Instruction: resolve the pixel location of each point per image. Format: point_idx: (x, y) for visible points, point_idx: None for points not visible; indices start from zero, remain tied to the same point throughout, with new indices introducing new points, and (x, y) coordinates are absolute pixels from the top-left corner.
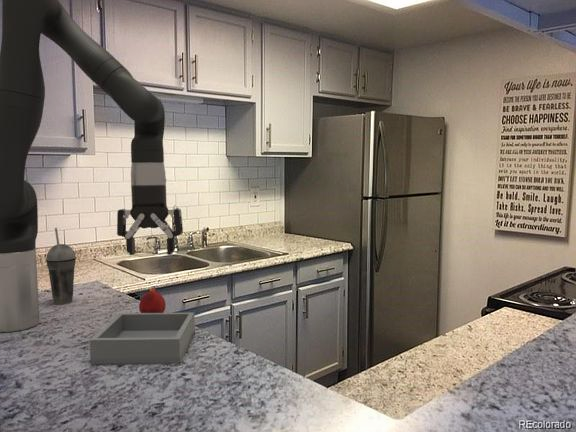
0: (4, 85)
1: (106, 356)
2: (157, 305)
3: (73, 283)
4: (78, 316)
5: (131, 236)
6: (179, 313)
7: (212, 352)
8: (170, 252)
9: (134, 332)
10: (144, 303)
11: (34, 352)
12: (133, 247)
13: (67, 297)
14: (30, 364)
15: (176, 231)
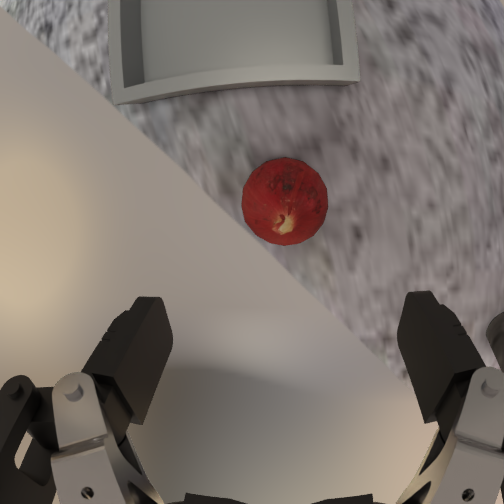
0: None
1: None
2: (256, 172)
3: (499, 359)
4: (475, 237)
5: (459, 403)
6: (151, 87)
7: (85, 10)
8: (137, 305)
9: (293, 56)
10: (302, 170)
11: (471, 6)
12: (417, 346)
13: (499, 326)
14: None
15: (19, 404)
